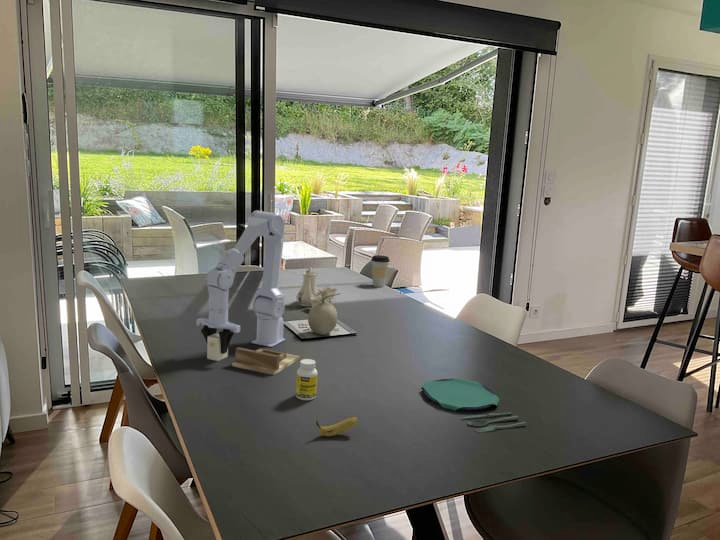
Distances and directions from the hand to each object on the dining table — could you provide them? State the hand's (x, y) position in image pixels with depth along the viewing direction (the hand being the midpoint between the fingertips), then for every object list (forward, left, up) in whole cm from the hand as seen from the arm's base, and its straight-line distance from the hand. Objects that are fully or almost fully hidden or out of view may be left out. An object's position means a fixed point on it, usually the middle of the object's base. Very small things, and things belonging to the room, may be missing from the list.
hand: (217, 351), depth 180 cm
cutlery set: (-4, +77, -3) cm, 77 cm away
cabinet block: (0, 0, -2) cm, 2 cm away
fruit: (-40, +16, -2) cm, 43 cm away
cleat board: (-4, +15, -2) cm, 16 cm away
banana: (+29, +53, -2) cm, 60 cm away
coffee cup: (-131, +4, -2) cm, 131 cm away
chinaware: (-77, -5, -2) cm, 77 cm away
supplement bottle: (+13, +37, -2) cm, 39 cm away
